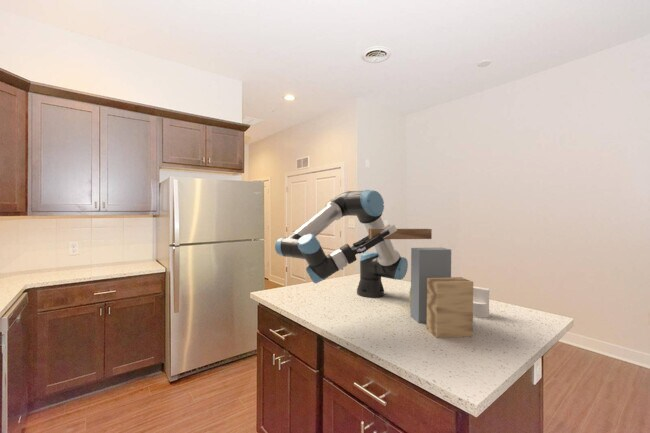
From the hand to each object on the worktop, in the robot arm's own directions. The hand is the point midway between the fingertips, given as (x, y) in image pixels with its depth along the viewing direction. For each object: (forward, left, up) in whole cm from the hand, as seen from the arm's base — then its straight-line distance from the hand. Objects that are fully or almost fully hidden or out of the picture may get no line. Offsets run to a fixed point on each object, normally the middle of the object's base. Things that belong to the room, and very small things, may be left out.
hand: (393, 227), depth 122 cm
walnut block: (0, +3, -5) cm, 6 cm away
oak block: (+11, +18, -39) cm, 45 cm away
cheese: (-16, +20, -40) cm, 47 cm away
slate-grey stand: (-4, +18, -39) cm, 44 cm away
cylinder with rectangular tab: (-7, +42, -40) cm, 58 cm away
